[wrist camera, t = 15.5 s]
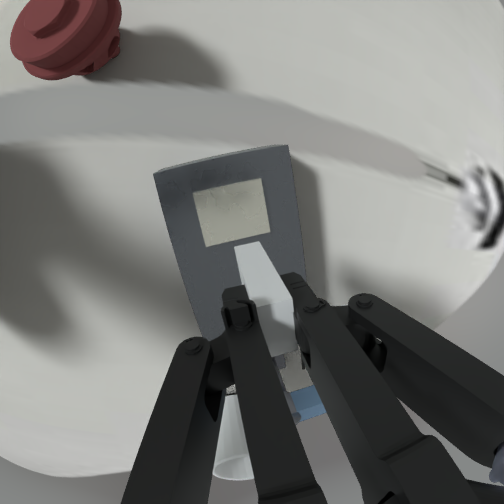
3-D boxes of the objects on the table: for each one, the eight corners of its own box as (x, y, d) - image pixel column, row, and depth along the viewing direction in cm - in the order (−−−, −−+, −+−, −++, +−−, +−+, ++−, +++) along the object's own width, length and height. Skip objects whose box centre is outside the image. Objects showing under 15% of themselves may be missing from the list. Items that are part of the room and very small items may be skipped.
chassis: (211, 339, 36) (213, 367, 31) (161, 169, 27) (152, 174, 22) (299, 317, 37) (312, 341, 32) (274, 144, 28) (289, 144, 23)
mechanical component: (78, 13, 18) (151, 17, 20) (45, 87, 21) (116, 96, 23) (32, -30, 6) (128, -41, 9) (-20, 71, 9) (65, 71, 12)
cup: (274, 392, 42) (295, 455, 30) (247, 423, 44) (259, 481, 33) (218, 379, 39) (228, 450, 27) (195, 413, 41) (199, 477, 29)
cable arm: (262, 416, 31) (266, 435, 28) (254, 397, 29) (259, 417, 26) (425, 350, 32) (437, 363, 29) (430, 328, 31) (444, 340, 28)
